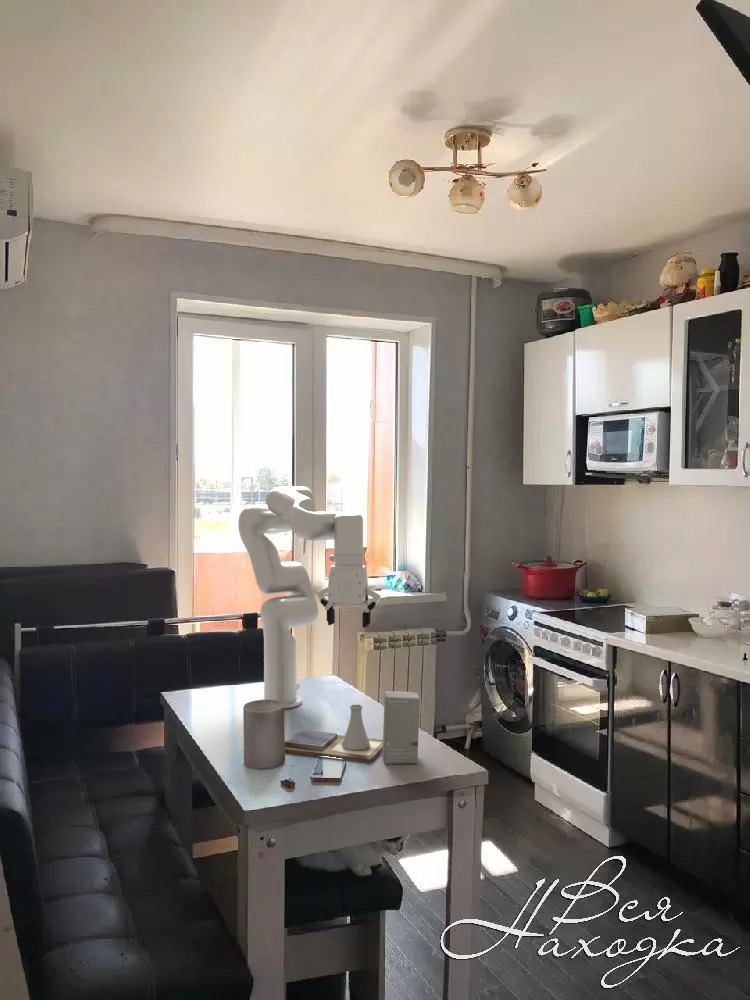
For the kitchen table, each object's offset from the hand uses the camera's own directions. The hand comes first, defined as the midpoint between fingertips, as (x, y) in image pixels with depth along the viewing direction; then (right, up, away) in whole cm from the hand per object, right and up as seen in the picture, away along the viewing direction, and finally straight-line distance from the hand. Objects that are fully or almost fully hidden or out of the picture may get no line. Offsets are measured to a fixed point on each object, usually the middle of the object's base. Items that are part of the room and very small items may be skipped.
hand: (348, 625), depth 213 cm
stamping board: (-3, -29, -12) cm, 31 cm away
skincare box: (+13, -29, -19) cm, 37 cm away
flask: (+2, -28, -13) cm, 31 cm away
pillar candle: (-19, -29, -21) cm, 41 cm away
